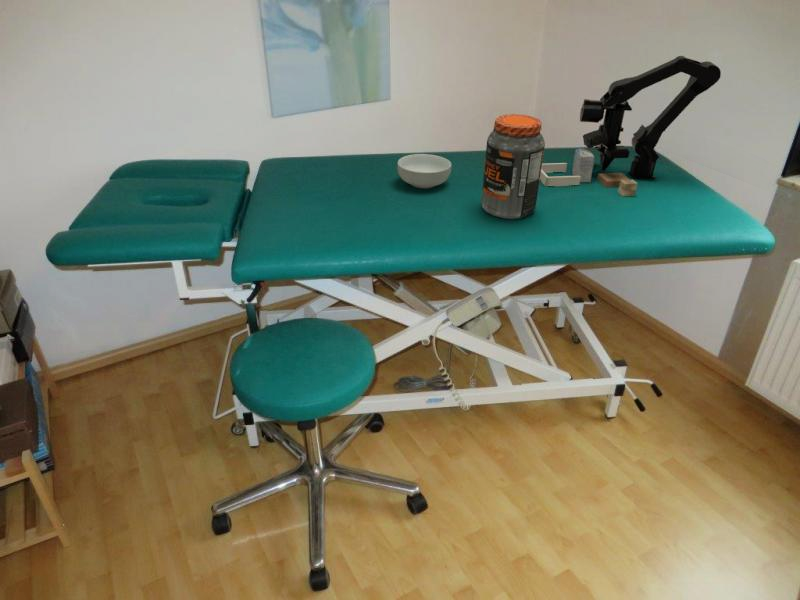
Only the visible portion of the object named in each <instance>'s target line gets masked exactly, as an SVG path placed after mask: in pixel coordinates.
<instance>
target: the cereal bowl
mask: <svg viewBox="0 0 800 600" xmlns="http://www.w3.org/2000/svg"><path fill="white" fill-rule="evenodd" d="M396 165H397V173H398V175H399V177H400V178H401V180H403V182H405V183H407V184H410V185H411V186H412V187H414V188H418V189H431V188H433V187H435V186H439V185H442V184H444V183H445V182H446V181H447V180H448V179H449V177H450V175H451V171H452V162H451V161H450V160H449V159H447V158H445V157H442V156H440V155H435V154H428V153H427V154H426V153H417V154H416V153H415V154H409V155H405V156H402V157H400V158H399V159H398V161H397V164H396Z"/></svg>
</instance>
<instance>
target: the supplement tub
mask: <svg viewBox="0 0 800 600" xmlns="http://www.w3.org/2000/svg"><path fill="white" fill-rule="evenodd" d="M494 120H495V121H494V125H493V130H492V131H491V132H490V133H489V135H488V136H487V139H486V150H485V158H484V167H483V169H484V170H483V178H482V179H483V180H482V188H481V190H482V191H481V192H482V193H481V207H482V209H483V210H484V211H485V212H486V213H488V214H490V215H492V216H494V217H499V218H503V219H512V220H514V219H522V218H525V217H527V216H529V215H531V214H533V212H534V211H535V210H536V207H537V201H538V194H539V188H540V187H539V186H540V182H541V181H540V174H541V167H542V164H543V160H544V159H543V158H544V153H545V146H546V143H545V142H546V141H545V139H544V137H543V134H542V133H541V131H542V120H541V119H539V118H537V117H536V116H532V115H527V114H520V113H519V114H517V113H512V114H511V113H510V114H502V115H499V116H497V117H496V118H495V119H494Z"/></svg>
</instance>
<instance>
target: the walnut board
mask: <svg viewBox="0 0 800 600" xmlns="http://www.w3.org/2000/svg"><path fill="white" fill-rule="evenodd" d="M596 180H597V181H598V182H599V183H600V184H602V185H603V186H604V187H605V188H619V186H620V181H621V180H631V179H630V178H628V176H626V175H625V174H624V173H623V172H611V173H610V172H605V173H604V172H603V173H597V178H596Z"/></svg>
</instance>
